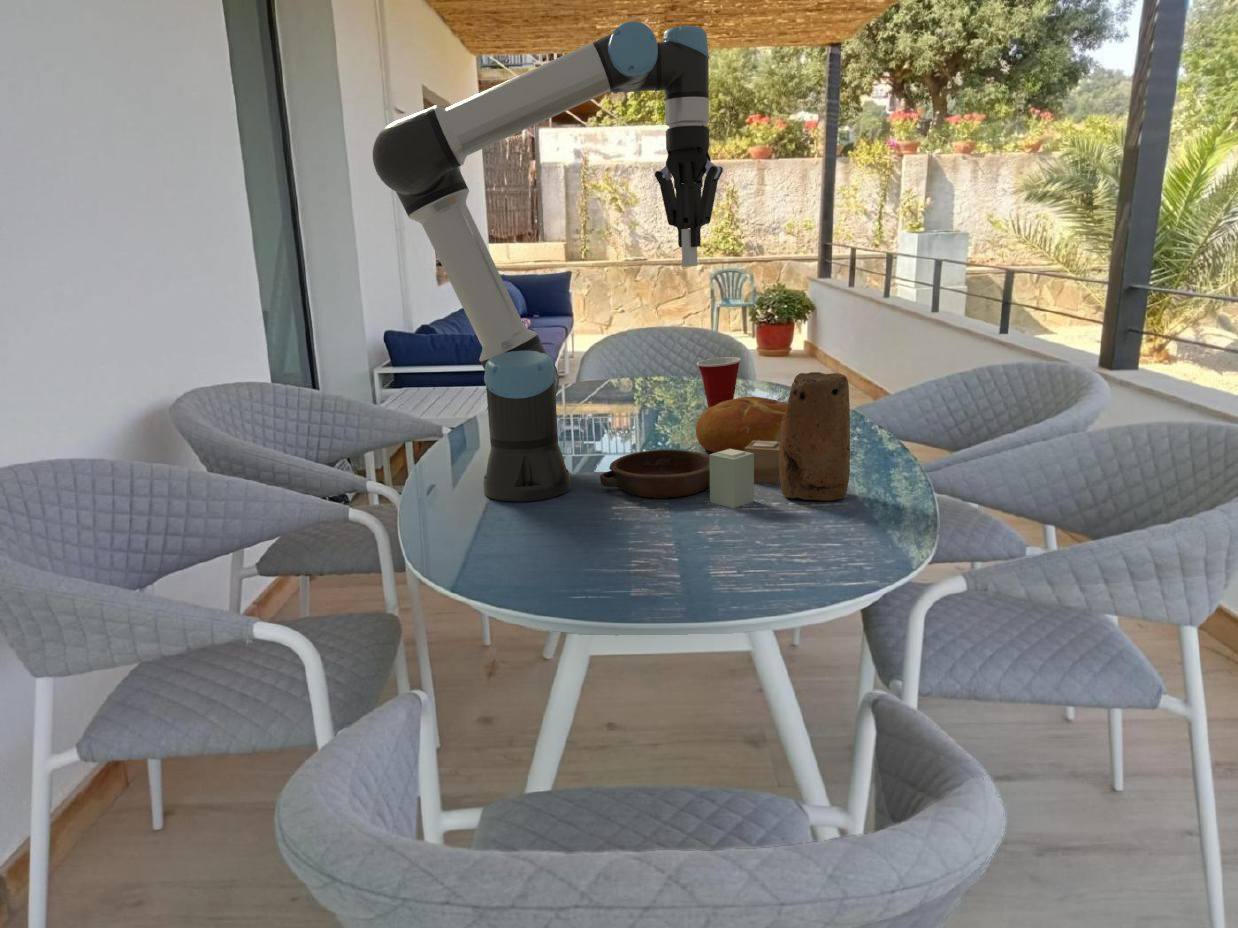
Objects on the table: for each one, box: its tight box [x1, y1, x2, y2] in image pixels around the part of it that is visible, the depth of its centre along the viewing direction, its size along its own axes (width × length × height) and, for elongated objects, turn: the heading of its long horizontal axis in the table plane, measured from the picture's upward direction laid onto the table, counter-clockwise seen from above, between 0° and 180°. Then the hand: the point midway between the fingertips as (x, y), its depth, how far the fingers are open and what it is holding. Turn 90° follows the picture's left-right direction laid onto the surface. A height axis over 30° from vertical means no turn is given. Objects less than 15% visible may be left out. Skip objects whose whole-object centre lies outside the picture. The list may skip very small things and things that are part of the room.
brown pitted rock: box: [779, 371, 851, 502], centre depth 140 cm, size 11×8×20 cm
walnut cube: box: [744, 440, 780, 484], centre depth 153 cm, size 6×6×6 cm
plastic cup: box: [696, 356, 742, 409], centre depth 213 cm, size 11×11×12 cm
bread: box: [695, 396, 788, 454], centre depth 174 cm, size 23×23×10 cm
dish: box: [599, 449, 710, 499], centre depth 150 cm, size 18×22×5 cm
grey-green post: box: [708, 449, 755, 509], centre depth 141 cm, size 5×5×8 cm
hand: (689, 266), depth 157 cm, fingers closed
